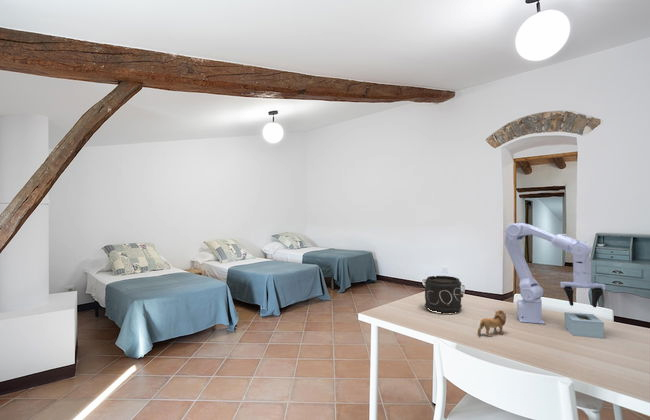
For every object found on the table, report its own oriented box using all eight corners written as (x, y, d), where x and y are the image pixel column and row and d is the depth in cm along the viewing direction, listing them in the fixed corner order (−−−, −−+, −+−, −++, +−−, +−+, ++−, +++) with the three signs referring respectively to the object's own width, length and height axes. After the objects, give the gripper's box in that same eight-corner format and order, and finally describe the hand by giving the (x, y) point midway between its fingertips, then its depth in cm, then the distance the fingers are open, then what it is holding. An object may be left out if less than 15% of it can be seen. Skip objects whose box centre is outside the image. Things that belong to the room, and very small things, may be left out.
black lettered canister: (462, 317, 160) (461, 283, 160) (422, 312, 167) (422, 280, 168) (464, 307, 176) (463, 276, 176) (428, 303, 184) (427, 274, 184)
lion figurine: (498, 329, 143) (497, 307, 143) (510, 333, 138) (509, 310, 138) (473, 335, 136) (473, 312, 136) (485, 339, 131) (484, 316, 131)
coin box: (572, 335, 134) (572, 320, 134) (564, 326, 145) (564, 312, 145) (604, 338, 131) (603, 322, 131) (593, 328, 141) (593, 314, 141)
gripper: (563, 273, 137) (564, 307, 137) (608, 274, 132) (608, 310, 132) (558, 270, 144) (559, 302, 144) (601, 271, 138) (601, 305, 138)
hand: (582, 305), depth 138 cm, fingers open, 7 cm apart
